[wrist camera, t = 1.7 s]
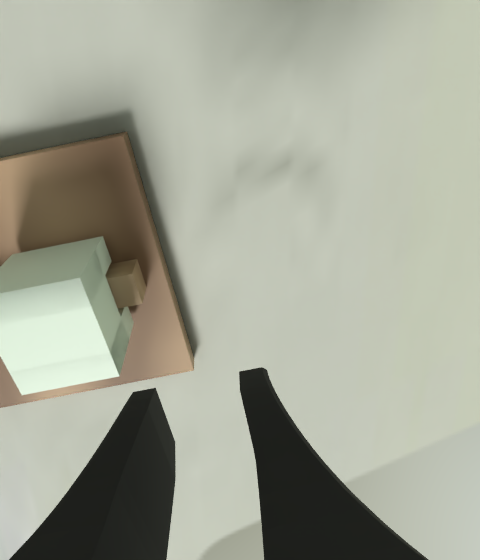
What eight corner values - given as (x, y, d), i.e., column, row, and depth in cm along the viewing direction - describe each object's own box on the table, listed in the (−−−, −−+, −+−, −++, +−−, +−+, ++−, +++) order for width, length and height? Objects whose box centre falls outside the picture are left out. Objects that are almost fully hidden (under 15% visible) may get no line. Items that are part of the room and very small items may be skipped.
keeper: (51, 338, 21) (21, 395, 18) (12, 254, 19) (-31, 299, 16) (133, 322, 21) (119, 376, 18) (102, 236, 19) (79, 277, 15)
